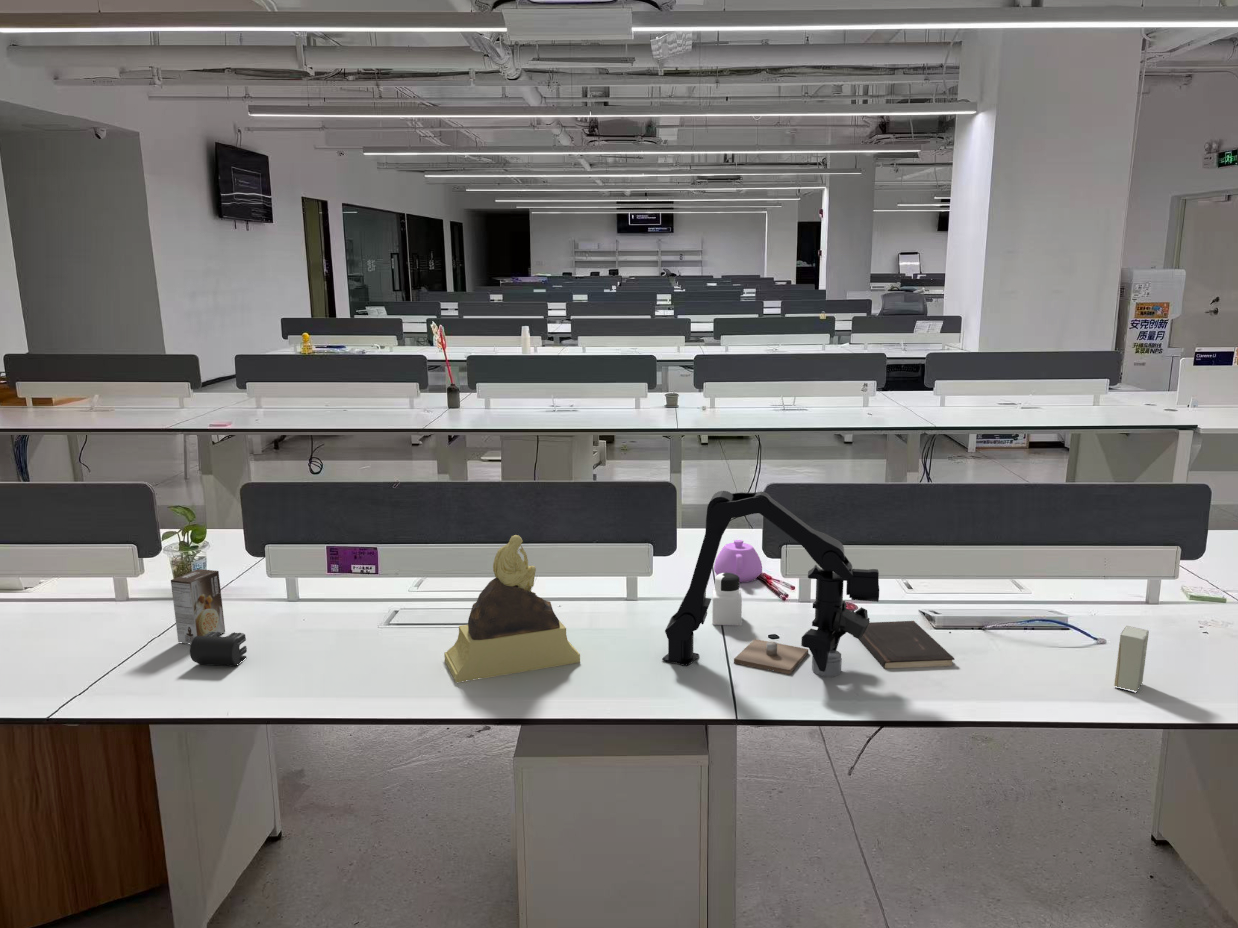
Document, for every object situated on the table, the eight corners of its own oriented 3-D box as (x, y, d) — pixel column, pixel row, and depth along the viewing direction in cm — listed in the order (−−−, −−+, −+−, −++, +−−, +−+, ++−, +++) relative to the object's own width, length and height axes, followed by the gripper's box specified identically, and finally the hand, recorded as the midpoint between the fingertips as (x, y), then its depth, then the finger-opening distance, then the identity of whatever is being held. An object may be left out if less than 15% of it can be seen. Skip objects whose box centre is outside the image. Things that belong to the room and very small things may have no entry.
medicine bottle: (740, 615, 236) (741, 570, 234) (741, 626, 229) (742, 579, 227) (712, 614, 237) (712, 570, 234) (712, 625, 230) (712, 579, 227)
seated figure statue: (562, 642, 220) (559, 520, 214) (580, 662, 209) (577, 534, 203) (444, 660, 210) (438, 533, 204) (456, 683, 199) (449, 549, 193)
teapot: (760, 565, 277) (761, 530, 275) (763, 587, 258) (764, 550, 255) (714, 564, 279) (714, 529, 276) (713, 585, 259) (714, 549, 257)
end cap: (191, 669, 207) (188, 640, 205) (208, 656, 214) (205, 628, 212) (233, 671, 206) (230, 642, 204) (249, 658, 212) (246, 630, 211)
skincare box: (1120, 678, 198) (1125, 624, 195) (1143, 684, 195) (1149, 629, 192) (1113, 688, 193) (1119, 633, 190) (1137, 694, 190) (1143, 638, 188)
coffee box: (205, 629, 230) (198, 567, 227) (226, 632, 228) (220, 570, 225) (177, 643, 221) (169, 579, 218) (198, 646, 219) (191, 582, 216)
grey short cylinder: (836, 678, 199) (836, 661, 198) (808, 673, 202) (809, 656, 201) (843, 668, 204) (844, 651, 203) (817, 663, 207) (817, 646, 206)
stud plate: (789, 674, 201) (790, 659, 200) (733, 662, 207) (734, 648, 207) (808, 653, 212) (808, 638, 211) (754, 642, 218) (755, 628, 218)
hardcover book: (913, 629, 227) (913, 620, 227) (954, 668, 205) (954, 658, 204) (849, 632, 226) (850, 623, 226) (883, 671, 204) (884, 661, 203)
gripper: (854, 618, 187) (851, 689, 191) (877, 590, 203) (874, 657, 207) (801, 609, 193) (799, 678, 196) (827, 583, 209) (825, 648, 212)
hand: (826, 665), depth 202 cm, fingers closed on grey short cylinder, 6 cm apart
